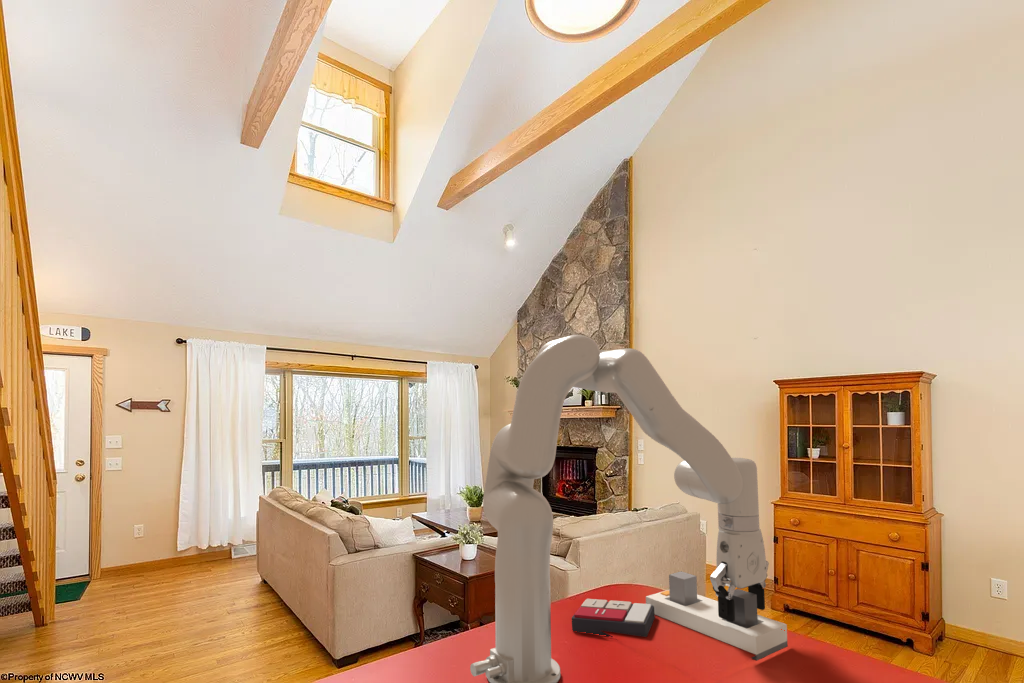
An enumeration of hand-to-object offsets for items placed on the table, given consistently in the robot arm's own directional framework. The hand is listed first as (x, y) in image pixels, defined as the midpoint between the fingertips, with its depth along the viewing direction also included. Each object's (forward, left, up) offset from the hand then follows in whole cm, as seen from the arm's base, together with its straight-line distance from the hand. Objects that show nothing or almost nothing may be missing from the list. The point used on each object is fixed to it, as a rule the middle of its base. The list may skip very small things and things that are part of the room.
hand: (742, 613), depth 113 cm
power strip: (0, +7, -5) cm, 9 cm away
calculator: (-15, +20, -6) cm, 25 cm away
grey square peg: (0, +14, -4) cm, 15 cm away
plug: (0, 0, -4) cm, 4 cm away
